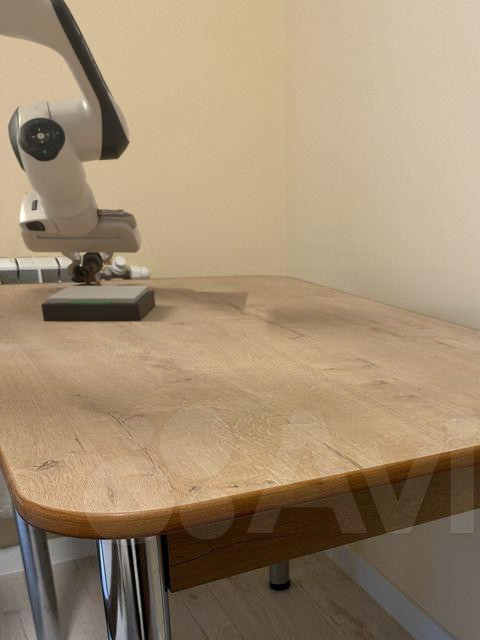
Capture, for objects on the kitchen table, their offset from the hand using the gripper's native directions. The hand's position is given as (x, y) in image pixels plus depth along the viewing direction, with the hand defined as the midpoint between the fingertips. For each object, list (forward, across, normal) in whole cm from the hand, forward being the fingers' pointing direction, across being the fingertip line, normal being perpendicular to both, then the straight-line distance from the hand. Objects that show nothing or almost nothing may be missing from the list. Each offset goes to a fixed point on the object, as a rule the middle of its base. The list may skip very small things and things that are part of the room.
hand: (93, 262), depth 136 cm
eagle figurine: (+3, +1, +4) cm, 5 cm away
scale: (-17, -8, +23) cm, 30 cm away
